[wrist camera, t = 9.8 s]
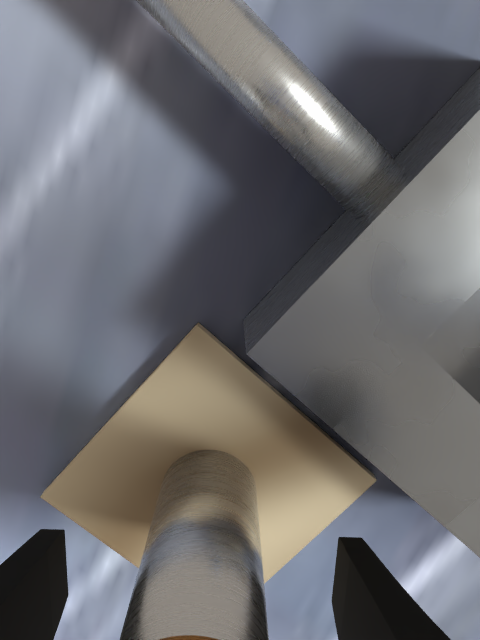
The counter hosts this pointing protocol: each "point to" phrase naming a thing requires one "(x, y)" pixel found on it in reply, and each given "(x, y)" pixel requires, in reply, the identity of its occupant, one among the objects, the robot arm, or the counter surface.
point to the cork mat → (209, 434)
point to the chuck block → (368, 266)
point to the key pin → (201, 556)
